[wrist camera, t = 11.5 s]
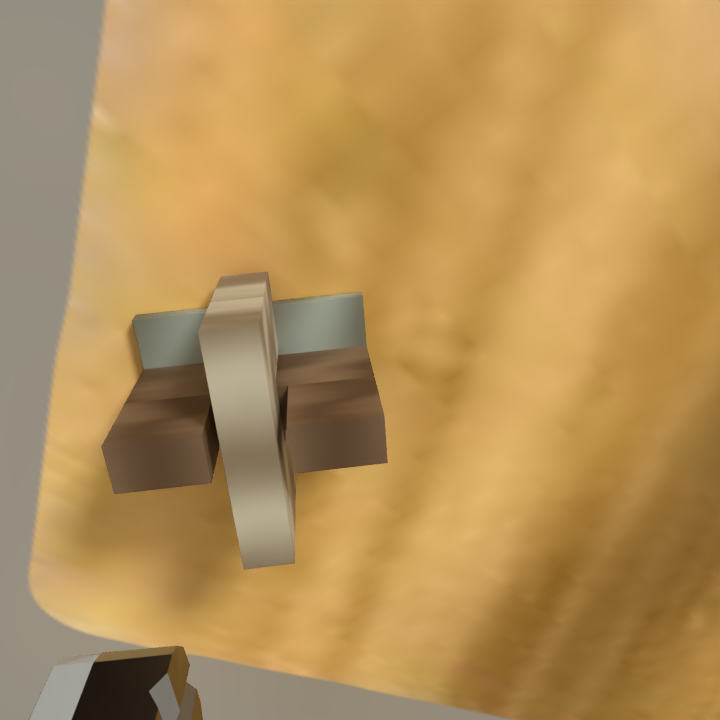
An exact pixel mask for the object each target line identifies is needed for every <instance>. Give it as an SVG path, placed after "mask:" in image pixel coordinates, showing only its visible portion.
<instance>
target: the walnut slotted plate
mask: <svg viewBox="0 0 720 720" xmlns="http://www.w3.org/2000/svg"><path fill="white" fill-rule="evenodd" d="M272 305H273V312H274V319H275V326H276V334H277V341H278V359H277V372H276V385H277V392H278V399H279V406H280V413H281V420H282V426H283V430H287V433H288V440H289V447H290V454H291V461H292V468H293V474H295V473H303V472H312V471H321V470H329V469H338V468H347V467H356V466H364V465H373V464H382V463H388V462H387V448H386V434H385V420H384V413H383V409H382V405H381V401H380V397H379V393H378V389H377V385H376V381H375V377H374V373H373V370H372V366H371V362H370V358H369V354H368V350H367V346H366V334H365V322H364V309H363V297H362V293H361V292H358V293H349V294H339V295H329V296H319V297H309V298H299V299H290V300H280V301H272ZM207 309H208V308H201V309H191V310H181V311H171V312H162V313H152V314H142V315H136V316H135V317H134V318H133V320H132V322H133V326H134V330H135V334H136V339H137V343H138V347H139V351H140V356H141V360H142V364H143V368H144V370H143V372H142V373H141V375H140V377H139V379H138V381H137V383H136V384H135V386H134V388H133V390H132V392H131V393H130V395H129V397H128V399H127V401H126V403H125V404H124V406H123V408H122V410H121V412H120V414H119V415H118V417H117V419H116V421H115V423H114V425H113V426H112V428H111V430H110V432H109V434H108V436H107V437H106V439H105V441H104V443H103V445H102V451H103V455H104V458H105V462H106V465H107V469H108V472H109V476H110V480H111V483H112V487H113V490H114V494H120V493H129V492H137V491H146V490H155V489H164V488H172V487H181V486H190V485H199V484H207V483H211V482H212V478H213V473H214V469H215V464H216V460H217V455H218V451H219V446H220V444H219V439H218V434H217V429H216V423H215V418H214V413H213V408H212V403H211V398H210V392H209V387H208V382H207V377H206V372H205V367H204V362H203V356H202V351H201V346H200V341H199V336H198V331H199V328H200V326H201V323H202V321H203V318H204V316H205V314H206V311H207Z"/></svg>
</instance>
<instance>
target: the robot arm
mask: <svg viewBox="0 0 720 720" xmlns="http://www.w3.org/2000/svg"><path fill="white" fill-rule="evenodd" d="M189 666H190V664H189V662H188V659H187V656H186V653H185V650H184V647H181V646H169V647H158V648H147V649H137V650H125V651H115V652H105V653H101V654H100V653H99V654H90V655H79V656H68V657H62V658H61V659H60V660H59V661H58V662H57V664H55V666H54V667H53V668H52V669H51V671H50V674H49V676H48V678H47V680H46V683H45V685H44V687H43V689H42V691H41V693H40V696H39V698H38V700H37V703H36V704H35V707H34V709H33V711H32V713H31V715H30V718H29V720H203V717H202V709H201V702H200V698H199V695H198V691H197V689H196V688H194V687H193V686H191V685H190V684H189V683H187V682H186V681H187V676H188V671H189Z"/></svg>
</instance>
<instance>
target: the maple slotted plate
mask: <svg viewBox="0 0 720 720" xmlns="http://www.w3.org/2000/svg"><path fill="white" fill-rule="evenodd" d="M198 336H199V341H200V346H201V351H202V356H203V362H204V367H205V372H206V377H207V382H208V387H209V392H210V398H211V403H212V408H213V413H214V418H215V423H216V429H217V434H218V439H219V444H220V449H221V454H222V459H223V465H224V470H225V475H226V480H227V485H228V490H229V496H230V501H231V506H232V511H233V516H234V521H235V526H236V532H237V537H238V542H239V547H240V552H241V557H242V563H243V568H244V569H253V568H261V567H269V566H277V565H285V564H294V563H295V495H296V473H295V474H293V468H292V461H291V454H290V447H289V440H288V433H287V430H283V426H282V420H281V413H280V406H279V399H278V392H277V385H276V372H277V359H278V341H277V334H276V326H275V319H274V312H273V305H272V298H271V291H270V284H269V277H268V272H261V273H251V274H241V275H231V276H221V277H220V279H219V282H218V284H217V287H216V289H215V292H214V294H213V296H212V299H211V301H210V304H209V306H208V309H207V311H206V314H205V316H204V318H203V321H202V323H201V326H200V328H199V331H198Z"/></svg>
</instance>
